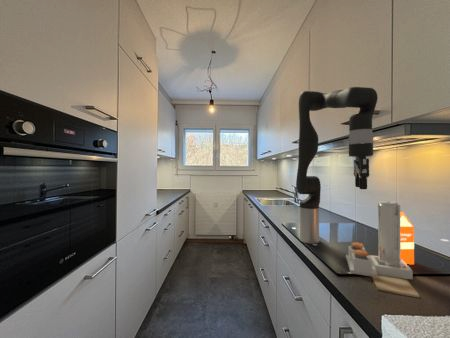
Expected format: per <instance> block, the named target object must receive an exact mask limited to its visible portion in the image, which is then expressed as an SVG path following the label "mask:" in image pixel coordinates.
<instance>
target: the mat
mask: <svg viewBox="0 0 450 338" xmlns="http://www.w3.org/2000/svg"><path fill="white" fill-rule="evenodd" d="M370 277H371V279H372V281H373V283H374V285H375V287H376V289H377V291H379V292H386V293H389V294H397V295H400V296H401V295H402V296H407V297H414V298H420V294H419V293H418V292H417V291H416V289H415V288H414V287H413V286H412V285H411V283H410V282H409V279H404V278H397V277H390V276H384V275H379V274H377V275H371V276H370Z"/></svg>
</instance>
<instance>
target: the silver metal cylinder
mask: <svg viewBox="0 0 450 338" xmlns="http://www.w3.org/2000/svg"><path fill="white" fill-rule="evenodd" d="M400 212H401V205H400V204H399V202H398V201H397V202H396V201H390V200H389V201H388V200H380V201H379V202H378V204H377V217H378V218H377V221H378V222H377V223H378V224H377V227H378V228H377V229H378V232H377V233H378V235H377V237H378V238H377V239H378V244H377V245H378V248H377V249H378V253H377V254H378V255H377V256H378V258H379V265H383V266H390V267H398V268H401V238H400Z"/></svg>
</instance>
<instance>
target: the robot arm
mask: <svg viewBox="0 0 450 338" xmlns="http://www.w3.org/2000/svg"><path fill="white" fill-rule="evenodd" d="M377 103H378V93H377V91H376V89H374V88H372V87H362V86H361V87H360V86H351V87H347V88H345V89H338V90H334V91H331V92H329V93H324V92H319V91H310V90H309V91H307V90H305V91H302V92H301V93H300V95H299V97H298V119H299V124H298V125H299V128H298V130H299V134H298V159H297V160H298V161H297V162H298V163H297V171H296V181H295V183H296V185H295V187H296V192H297V193H298V194H299V195H308V196H307V197H306V198H305V199H302V200H300V202H299V241H301V242H302V243H303V244H304V243H305V244H313V245H314V244H319V243H320V204H321V191H322V190H321V189H322V188H321V180H320V178H319V177H318V176H315V175H308V176H307V174H308V169H309V166H310V164H311V162H312V161H313V159H314V158H315V157H316V155H317V153H318V151H319V135H318V133H317V131H316V129H315V127H314V125H313V124H312V122H311V117H310V112H317V111H320V110H324V109H329V108H330V109H344V108H345V109H346V108H355V109H357V108H358V109H359V111H358V113H355V114H352V115H351V116H350V117H349V121H348V123H349V124H348V125H349V126H348V128H349V130H348V132H349V133H348V156H349V157H352V158H353V157H354V158H355V159H353V176H354V180H355V181H354V183H355V184H354V185H355V187H356V188H359V190H368V178H369V177H370V159H369V158H367V157H373V156H374V134H373V116H374V112H375V109H376V106H377Z"/></svg>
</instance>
